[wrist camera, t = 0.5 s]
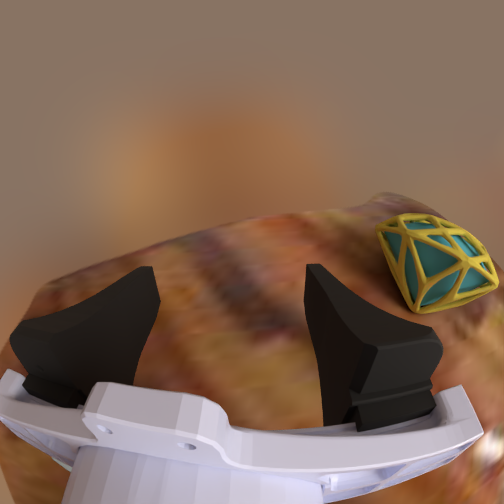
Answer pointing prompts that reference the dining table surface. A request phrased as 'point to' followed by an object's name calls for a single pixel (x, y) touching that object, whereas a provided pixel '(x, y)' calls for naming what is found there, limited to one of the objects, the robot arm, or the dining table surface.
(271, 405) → the dining table surface
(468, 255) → the decorative object
